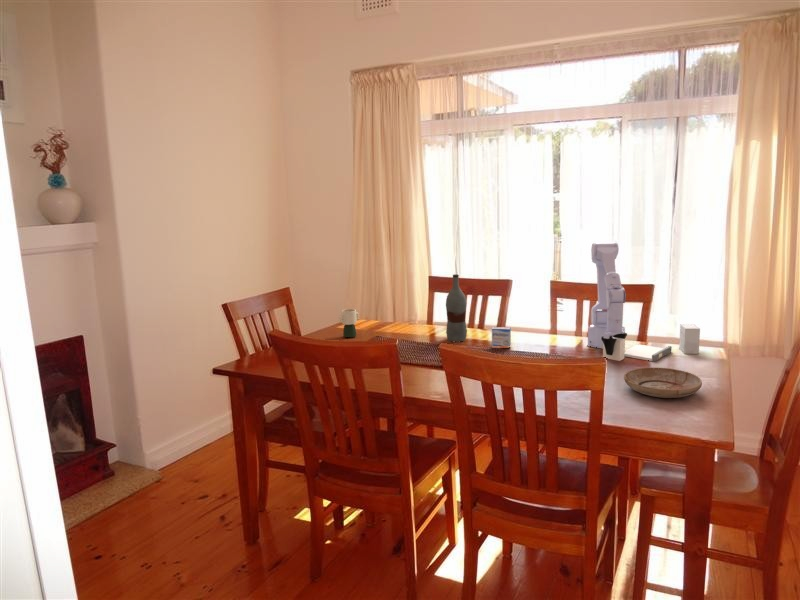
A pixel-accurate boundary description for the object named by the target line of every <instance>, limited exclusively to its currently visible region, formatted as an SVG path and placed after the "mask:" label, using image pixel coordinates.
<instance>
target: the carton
mask: <svg viewBox="0 0 800 600" xmlns="http://www.w3.org/2000/svg"><path fill="white" fill-rule="evenodd" d="M612 337H613V336H612ZM613 338H614V339H617V340H616V342H615V345H614V350H613V354H612V355H607V354H606V350H605V346H604V343H603V349H602V358H603V357H606V358H608V359H607V360H612V361H613V360H614V361H618V362H621V361H622V360H624V359H625V356H624V355H625V351H626V350H625V349H626V338H625V339H622V338H615V337H613ZM606 358H605V359H606Z"/></svg>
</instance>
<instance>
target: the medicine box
mask: <svg viewBox="0 0 800 600" xmlns="http://www.w3.org/2000/svg"><path fill="white" fill-rule="evenodd" d="M511 331H512V329H511V327H510V326H509V327H507V326H500V327H499V326H492V328H491V346H492V345H493V346H510V345H511V343H512V342H511V341H512V339H511V337H512V334H511ZM511 346H512V345H511Z"/></svg>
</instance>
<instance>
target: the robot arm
mask: <svg viewBox="0 0 800 600" xmlns="http://www.w3.org/2000/svg"><path fill="white" fill-rule="evenodd" d="M590 249H591V253H590V254H591V255H590V256H591V262H592V263H593V264H595V265H596V267H595V268H596V281H597V282H596V284H597V302H596V304H593V306H592V307H591V311H590V323H591V324H590V325H589V327H588V328H587V329H588V331H587V345H586V346H587V347H590V346H591V348H596V347H597V348H596V349H602V350H603V343H604V346H605V350H606V354H607V355H612V354H613V350H614V345H615V342H616V340H617V339H614V338H613V337H615V338H622V339H625V340H626V338H627V337H628V332H627V333H626V327H625V326H623V323H624V322H623V319H624V304H625V303H626V298H627V297H626V296H627V295H626V290H625V288H624V286H622V282H621V277H620V274H619V273H617V271H616V259H617V258H618V254H619V244H618V243H617V241H610V242H609V241H607V242H606V241H604V242H601V241H600V242H599V241H598V242H596V241H594V242H593V243H592V245H591V248H590Z"/></svg>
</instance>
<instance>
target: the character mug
mask: <svg viewBox="0 0 800 600" xmlns="http://www.w3.org/2000/svg"><path fill="white" fill-rule="evenodd" d="M340 314H341V315H338V322H339V323H342V324H343V325H344V326H343V330H342V331H343V333H342V335H343V337H346V338H347V337H348V338H354V337H356V336H357V331H356V330H357V329H356V325H355V324H357V320H359V318H360V313H359V312H358V311H357V310H356V308H343V309H341V313H340Z"/></svg>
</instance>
